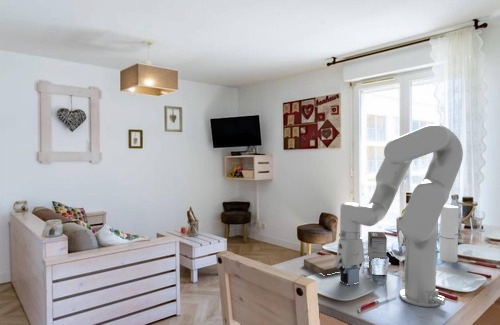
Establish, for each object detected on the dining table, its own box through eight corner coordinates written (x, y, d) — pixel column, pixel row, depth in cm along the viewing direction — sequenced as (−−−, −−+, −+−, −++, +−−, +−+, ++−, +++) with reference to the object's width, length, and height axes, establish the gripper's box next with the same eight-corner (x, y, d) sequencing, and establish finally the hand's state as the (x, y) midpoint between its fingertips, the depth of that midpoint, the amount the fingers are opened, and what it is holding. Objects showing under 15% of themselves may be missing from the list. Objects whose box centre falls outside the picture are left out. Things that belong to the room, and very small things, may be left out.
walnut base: (350, 270, 143) (350, 263, 143) (324, 276, 137) (324, 269, 137) (328, 260, 156) (328, 254, 155) (303, 265, 149) (303, 259, 149)
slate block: (359, 283, 130) (359, 268, 130) (349, 286, 128) (349, 270, 127) (349, 279, 134) (350, 264, 134) (340, 281, 132) (340, 266, 132)
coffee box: (367, 267, 147) (367, 231, 146) (382, 268, 146) (383, 231, 145) (370, 275, 138) (370, 236, 137) (386, 276, 137) (387, 237, 136)
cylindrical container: (461, 261, 154) (462, 207, 153) (449, 263, 152) (451, 208, 150) (446, 256, 161) (448, 204, 160) (435, 258, 158) (437, 205, 157)
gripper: (340, 240, 123) (339, 288, 124) (373, 234, 131) (373, 280, 132) (326, 235, 130) (326, 281, 130) (359, 230, 137) (358, 273, 138)
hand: (349, 280), depth 131 cm, fingers closed on slate block, 5 cm apart
